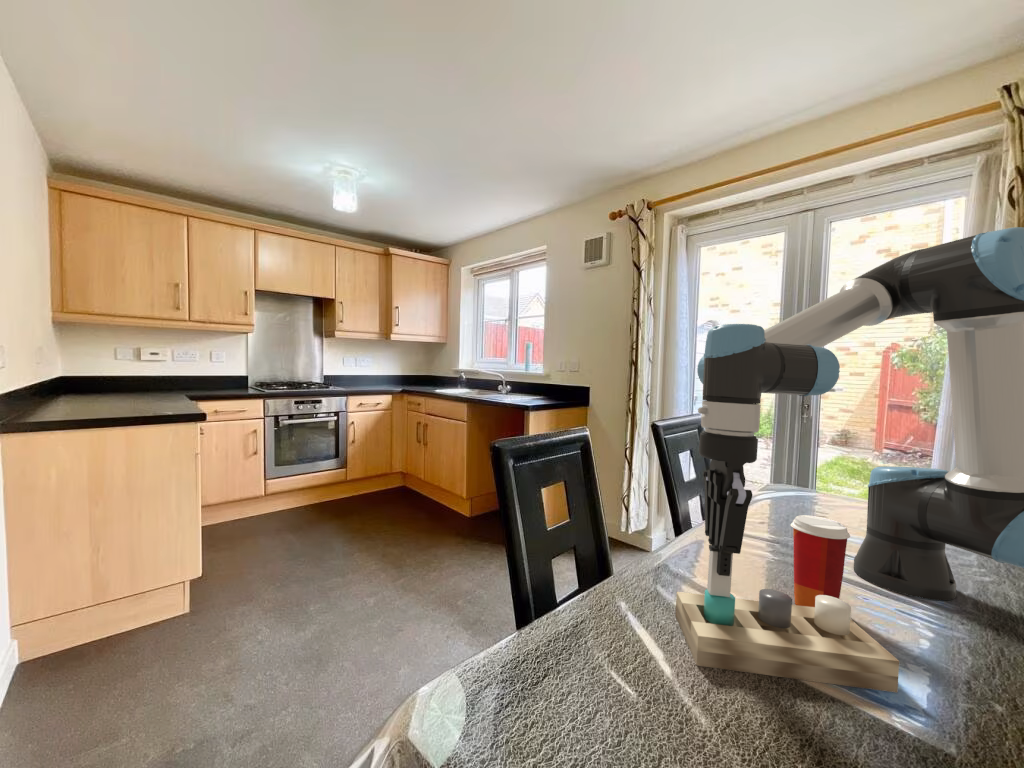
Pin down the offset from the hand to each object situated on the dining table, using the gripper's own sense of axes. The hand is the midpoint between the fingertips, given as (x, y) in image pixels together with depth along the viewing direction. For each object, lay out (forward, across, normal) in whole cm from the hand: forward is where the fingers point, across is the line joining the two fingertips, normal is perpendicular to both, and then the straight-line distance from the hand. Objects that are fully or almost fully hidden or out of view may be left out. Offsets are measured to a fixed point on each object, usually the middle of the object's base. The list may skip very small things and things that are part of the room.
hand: (718, 593), depth 62 cm
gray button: (+3, 0, +8) cm, 8 cm away
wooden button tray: (+7, 0, +8) cm, 11 cm away
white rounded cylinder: (+3, 0, +15) cm, 16 cm away
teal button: (+4, 0, 0) cm, 4 cm away
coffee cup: (+7, -14, +21) cm, 26 cm away
